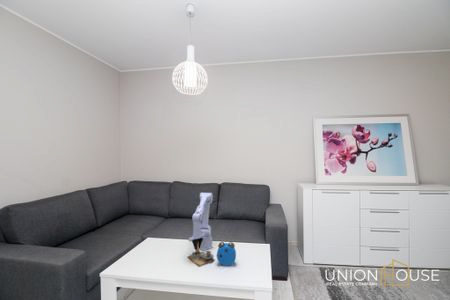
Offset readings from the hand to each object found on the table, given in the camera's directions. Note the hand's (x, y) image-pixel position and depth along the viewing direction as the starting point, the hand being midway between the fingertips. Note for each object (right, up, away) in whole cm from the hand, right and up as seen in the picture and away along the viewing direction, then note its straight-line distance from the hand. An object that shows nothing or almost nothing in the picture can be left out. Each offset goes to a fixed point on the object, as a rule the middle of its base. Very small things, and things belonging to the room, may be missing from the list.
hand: (197, 248), depth 162 cm
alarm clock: (+21, -8, -8) cm, 24 cm away
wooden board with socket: (+3, -7, -1) cm, 8 cm away
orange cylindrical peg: (0, -2, 0) cm, 2 cm away
